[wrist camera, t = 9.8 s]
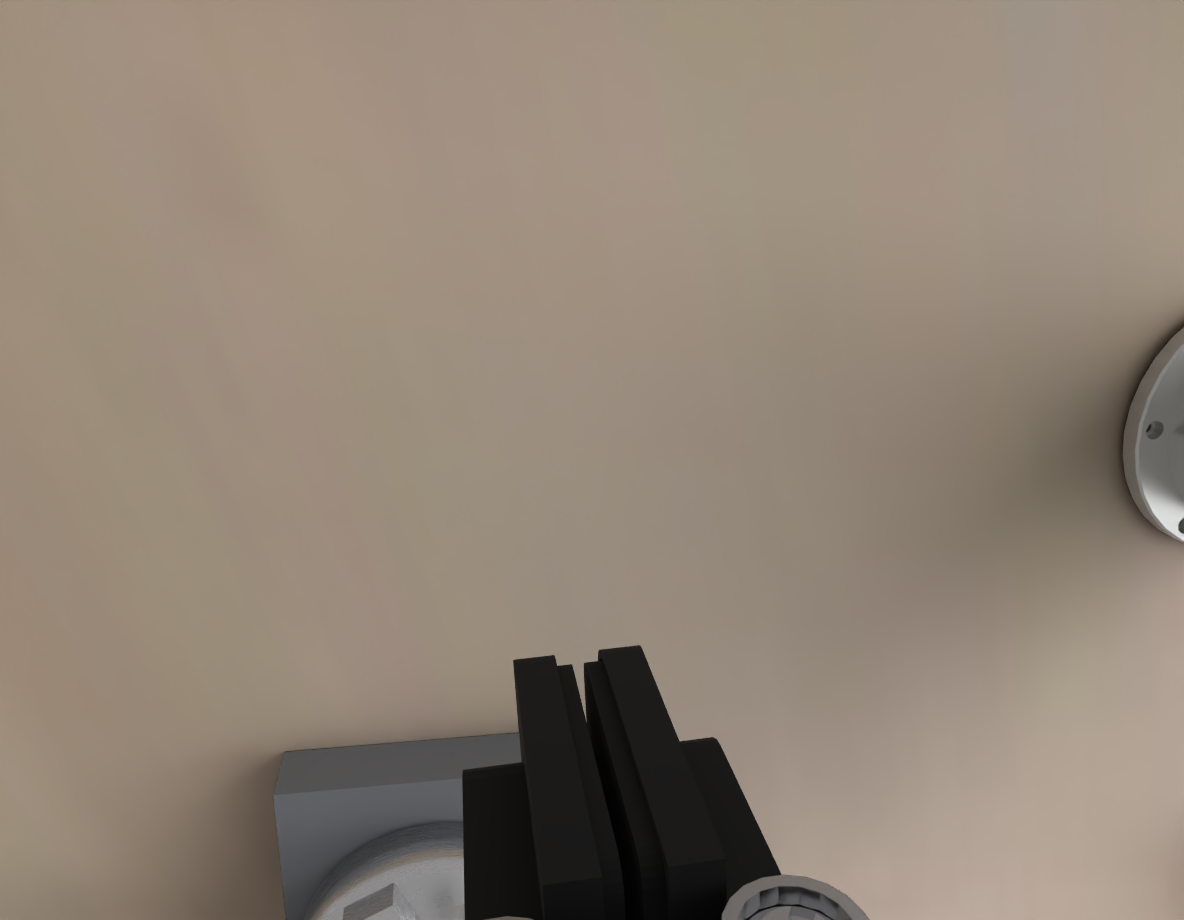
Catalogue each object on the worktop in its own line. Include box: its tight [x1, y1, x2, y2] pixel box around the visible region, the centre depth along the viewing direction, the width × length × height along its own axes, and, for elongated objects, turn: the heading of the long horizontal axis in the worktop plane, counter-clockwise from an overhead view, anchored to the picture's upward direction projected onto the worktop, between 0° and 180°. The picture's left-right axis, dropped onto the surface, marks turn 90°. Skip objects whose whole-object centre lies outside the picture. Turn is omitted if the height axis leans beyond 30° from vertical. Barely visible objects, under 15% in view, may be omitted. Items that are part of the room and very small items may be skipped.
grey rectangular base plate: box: [273, 733, 521, 920], centre depth 42 cm, size 13×16×3 cm
